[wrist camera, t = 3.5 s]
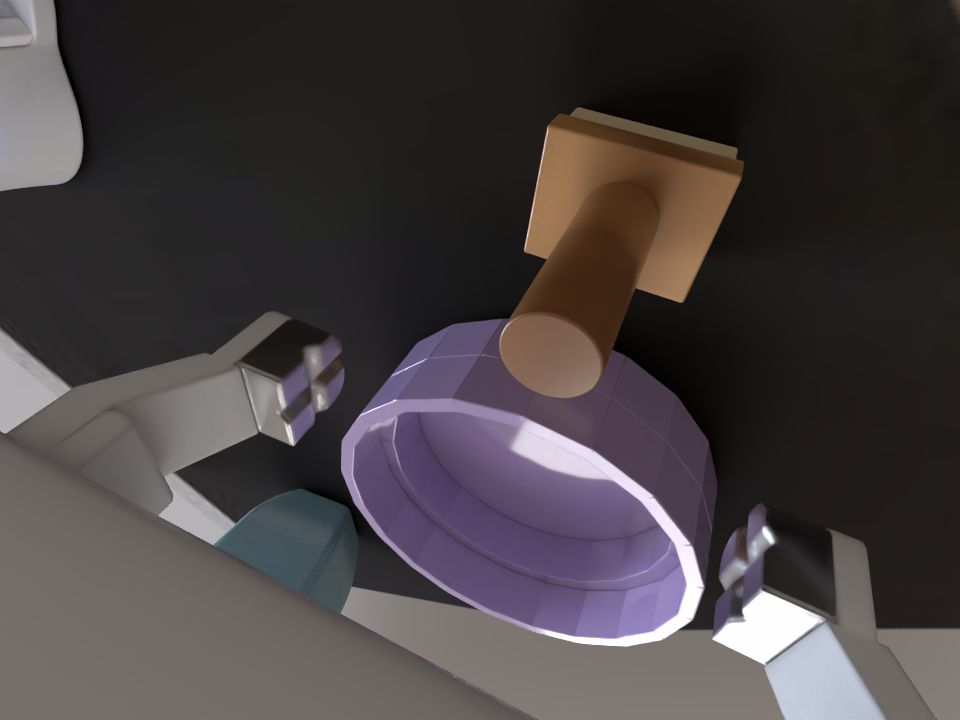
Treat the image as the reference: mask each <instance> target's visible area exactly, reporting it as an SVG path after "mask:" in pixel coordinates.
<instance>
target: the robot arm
mask: <svg viewBox="0 0 960 720" xmlns="http://www.w3.org/2000/svg"><path fill="white" fill-rule="evenodd" d="M82 155H83V133H82V126H81V120H80V115H79V111H78V107H77V104H76V100H75V97H74V94H73V91H72V88H71V85H70V82H69V79H68V77H67V74H66V71H65V68H64V65H63V62H62V59H61V56H60V52H59V48H58V43H57V24H56V12H55V4H54V0H0V191H4V190H10V189H16V188H24V187H32V186H43V185H56V184H62V183H65V182H67V181H69V180H70V179H71V178H72V177H73V176H74V175H75V174H76V173H77V171H78V169H79V167H80V164H81V160H82ZM341 352H342V349H341V342H340V339H339V338H338V337H336V336H334V335H332V334H329V333H327V332H325V331H322V330H320V329H318V328H315V327H313V326H311V325H308V324H306V323H304V322H301V321H299V320H296V319H293V318H291V317H289V316H286V315H284V314H281V313H279V312H277V311H271V312H267V313H265V314H264V315H262V316H261V317H260V318H259V319H257V320H256V321H255V322H253V323H252V324H251V325H250V326H248V327H247V328H246V329H244V330H243V331H242V332H241V333H239V334H238V335H237V336H235V337H234V338H233V339H232V340H230V341H229V342H228V343H226V344H225V345H224V346H223V347H221V348H220V349H219V350H217V351H216V352H215V353H214V354H212V355H210V354H207V353H203V354H199V355H195V356H191V357H187V358H184V359H180V360H176V361H172V362H168V363H165V364H161V365H157V366H153V367H149V368H146V369H142V370H138V371H134V372H130V373H127V374H123V375H119V376H115V377H111V378H108V379H104V380H100V381H96V382H92V383H89V384H85V385H81V386H77V387H74V388H73V389H71V390H70V391H68V392H67V393H65V394H64V395H62V396H61V397H59V398H58V399H56V400H55V401H53V402H52V403H51V404H49V405H48V406H46V407H45V408H43V409H42V410H40V411H39V412H37V413H36V414H34V415H33V416H31V417H30V418H28V419H27V420H25V421H24V422H22V423H21V424H20V425H18V426H17V427H15V428H14V429H12V430H11V431H9V432H8V433H6V434H4V433H2V432H1V431H0V720H537V719H536V718H534V717H532V716H530V715H528V714H526V713H524V712H522V711H521V710H519V709H517V708H515V707H513V706H511V705H509V704H508V703H506V702H504V701H502V700H500V699H498V698H496V697H495V696H493V695H491V694H489V693H487V692H485V691H483V690H481V689H480V688H478V687H476V686H474V685H472V684H470V683H468V682H467V681H465V680H463V679H461V678H459V677H457V676H455V675H454V674H452V673H450V672H448V671H446V670H444V669H442V668H440V667H439V666H437V665H435V664H433V663H431V662H429V661H428V660H426V659H424V658H422V657H420V656H418V655H416V654H414V653H413V652H411V651H409V650H407V649H405V648H403V647H401V646H400V645H398V644H396V643H394V642H392V641H390V640H388V639H387V638H385V637H383V636H381V635H379V634H377V633H375V632H373V631H371V630H370V629H368V628H366V627H364V626H362V625H360V624H359V623H357V622H355V621H353V620H351V619H349V618H347V617H345V616H344V615H342V614H340V613H338V612H336V611H334V610H332V609H331V608H329V607H327V606H325V605H323V604H321V603H319V602H318V601H316V600H314V599H312V598H310V597H308V596H306V595H305V594H303V593H301V592H299V591H297V590H295V589H293V588H291V587H290V586H288V585H286V584H284V583H282V582H280V581H278V580H277V579H275V578H273V577H271V576H269V575H267V574H265V573H263V572H262V571H260V570H258V569H256V568H254V567H252V566H250V565H249V564H247V563H245V562H243V561H241V560H239V559H237V558H236V557H234V556H232V555H230V554H228V553H226V552H224V551H222V550H221V549H219V548H217V547H215V546H213V545H211V544H209V543H207V542H206V541H204V540H202V539H200V538H198V537H196V536H194V535H193V534H191V533H189V532H187V531H185V530H183V529H181V528H180V527H178V526H176V525H174V524H172V523H170V522H168V521H166V520H165V519H163V518H161V517H159V516H158V515H159V514H160V513H161V512H162V511H163V510H164V509H165V508H166V507H167V506H168V505H169V504H170V503H171V502H172V500H173V493H172V491H171V489H170V487H169V486H168V484H167V482H166V480H165V478H164V476H166V475H168V474H171V473H173V472H175V471H177V470H179V469H181V468H184V467H186V466H188V465H190V464H192V463H195V462H197V461H199V460H201V459H203V458H205V457H208V456H210V455H212V454H214V453H216V452H219V451H221V450H223V449H225V448H227V447H230V446H232V445H234V444H236V443H238V442H240V441H243V440H245V439H247V438H249V437H251V436H254V435H256V434H258V431H259V432H261V433H264V434H266V435H269V436H271V437H273V438H276V439H278V440H280V441H283V442H285V443H287V444H290V445H292V446H294V445H295V444H296V443H297V442H298V441H299V440H300V438H301V437H302V436H303V435H304V434H305V433H306V432H307V431H308V430H309V429H310V428H311V427H312V425H313V424H314V419H315V413H317V412H320V411H323V410H325V409H328V408H329V407H330V406H331V404H332V403H333V402H334V401H335V400H336V399H337V397H338V395H339V393H340V391H341V389H342V387H343V381H344V367H343V366H342V364H341V363H340V361H339V360H338V358H337V356H338V355H339V354H340V353H341ZM719 579H720V581H721V583H722V585H723V587H724V589H725V593H724V594H723V595H722V596H721V597H720V598H719V599H718V600H717V601H716V608H715V618H714V628H713V640H716V641H717V642H720V643H721V644H724V645H726V646H728V647H730V648H732V649H734V650H736V651H738V652H740V653H742V654H744V655H746V656H748V657H750V658H752V659H754V660H756V661H758V662H760V663H762V664H764V665H766V666H765V667H764V668H765V671H766V673H767V676H768V678H769V681H770V683H771V686H772V688H773V691H774V693H775V696H776V698H777V701H778V703H779V706H780V708H781V711H782V713H783V716H784V718H785V720H937V719H936V718H935V716H934V715H933V713H932V712H931V710H930V709H929V707H928V706H927V704H926V703H925V701H924V700H923V698H922V697H921V695H920V693H919V692H918V691H917V689H916V688H915V686H914V685H913V683H912V681H911V680H910V678H909V677H908V676H907V674H906V673H905V671H904V670H903V668H902V666H901V665H900V663H899V662H898V660H897V659H896V657H895V656H894V654H893V653H892V651H891V650H890V648H889V647H887V646H884V645H882V644H880V643H878V639H877V631H876V622H875V614H874V606H873V598H872V590H871V581H870V573H869V565H868V557H867V549H866V547H865V545H864V544H863V542H862V541H859V540H857V539H854V538H852V537H849V536H847V535H844V534H841V533H839V532H836V531H834V530H831V529H829V528H825V527H824V526H822V525H819V524H816V523H814V522H811V521H809V520H806V519H803V518H801V517H798V516H795V515H793V514H790V513H788V512H785V511H782V510H780V509H777V508H774V507H772V506H769V505H767V504H764V503H760V504H758V505H756V506H755V507H754V509H753V510H752V511H751V512H750V513H749V520H748V526H744V527H739V528H737V529H736V530H735V532H734V533H733V534H732V536H731V537H730V539H729V541H728V543H727V545H726V548H725V550H724V552H723V556H722V560H721V565H720V572H719Z"/></svg>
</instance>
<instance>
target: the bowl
mask: <svg viewBox="0 0 960 720" xmlns="http://www.w3.org/2000/svg"><path fill="white" fill-rule="evenodd" d="M508 320H509V319H495V320H486V321H477V322H467V323H458V324H452V325H451V326H449V327H447V328H445V329H443V330H441V331H439V332H437V333H435V334H433V335H431V336H429V337H427V338H425V339H424V340H422V341H420V342H418V343H417V344H416V345H415V346H414V348H413V349H412V350H411V351H410V353H409V354H408V355H407V356H406V358H405V359H404V360H403V361H402V363H401V364H400V365H399V366H398V368H397V369H396V370H395V371H394V373H393V374H392V375H391V376H390V378H389V379H388V380H387V381H386V383H385V384H384V385H383V386H382V388H381V389H380V390H379V391H378V393H377V394H376V395H375V396H374V398H373V399H372V400H371V401H370V403H369V404H368V405H367V406H366V407H365V409H364V410H363V411H362V412H361V414H360V415H359V416H358V418H357V419H356V421H355V422H354V424H353V425H352V426H351V428H350V429H349V431H348V432H347V434H346V435H345V436H344V438H343V440H342V455H341V471H342V474H343V476H344V479H345V481H346V484H347V486H348V489H349V491H350V494H351V496H352V499H353V501H354V503H355V505H356V506H357V508H358V509H359V510H360V512H361V513H362V514H363V516H364V517H365V518H366V520H367V521H368V522H369V524H370V525H371V527H372V528H373V529H374V531H375V532H376V533H377V534H378V536H379V537H380V538H381V539H383V540H384V541H385V542H386V543H387V544H388V545H389V546H390V547H391V548H392V549H393V550H394V551H395V552H396V553H397V554H398V555H399V556H400V557H401V558H403V559H404V560H405V561H406V562H407V563H408V564H410V566H411V567H413V568H414V569H415V570H417V571H418V572H420V573H421V574H423V575H424V576H425V577H427V578H428V579H430V580H431V581H432V582H434V583H435V584H437V585H438V586H439V587H441V588H442V589H444V590H445V591H447V592H448V593H450V594H452V595H454V596H455V597H457V598H459V599H461V600H463V601H465V602H466V603H468V604H470V605H472V606H474V607H476V608H478V609H479V610H481V611H483V612H485V613H487V614H490V615H492V616H494V617H497V618H499V619H502V620H505V621H507V622H509V623H512V624H515V625H517V626H520V627H522V628H525V629H527V630H530V631H532V632H535V633H540V634H544V635H548V636H552V637H556V638H560V639H564V640H568V641H573V642H577V643H582V644H596V645H611V646H625V647H626V646H632V645H637V644H643V643H648V642H654V641H659V640H664V639H665V638H667V637H668V636H670V635H671V634H673V633H674V632H676V631H677V630H679V629H680V628H682V627H683V626H685V625H686V624H688V623H689V622H691V621H692V620H693V619H694V617H695V614H696V612H697V609H698V606H699V603H700V601H701V598H702V595H703V592H704V589H705V584H706V576H707V568H708V559H709V551H710V543H711V535H712V527H713V519H714V511H715V502H716V494H717V486H718V482H717V478H716V473H715V469H714V464H713V460H712V455H711V450H710V446H709V442H708V440H707V438H706V437H705V435H704V434H703V432H702V431H701V430H700V428H699V427H698V425H697V424H696V422H695V421H694V419H693V418H692V417H691V415H690V414H689V412H688V411H687V409H686V408H685V407H684V405H683V404H682V402H681V401H680V399H679V398H678V397H677V396H676V395H675V394H674V393H673V392H672V391H670V390H669V389H668V388H667V387H665V386H664V385H663V384H662V383H660V382H659V381H658V380H656V379H655V378H654V377H653V376H651V375H650V374H649V373H648V372H646V371H645V370H644V369H643V368H641V367H640V366H639V365H637V364H636V363H635V362H634V361H632V360H631V359H630V358H629V357H626V356H625V355H623V354H621V353H619V352H616V351H614V350H612V351H611V354H610V356H609V359H608V362H607V364H606V367H605V370H604V372H603V375H602V377H601V379H600V381H599V382H598V384H597V385H596V386H595V387H594V388H593V389H591V390H590V391H588V392H587V393H585V394H583V395H580V396H577V397H571V398H556V397H550V396H546V395H543V394H540V393H537V392H535V391H533V390H531V389H529V388H527V387H526V386H524V385H523V384H522V383H520V382H519V381H518V380H517V379H516V378H515V377H514V376H513V375H512V374H511V373H510V372H509V370H508V369H507V367H506V366H505V364H504V362H503V360H502V357H501V354H500V346H499V341H500V335H501V332H502V330H503V328H504V326H505V325H506V323H507V322H508Z"/></svg>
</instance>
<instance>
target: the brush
mask: <svg viewBox="0 0 960 720" xmlns="http://www.w3.org/2000/svg"><path fill="white" fill-rule="evenodd" d="M737 151H738V149H737V148H735V147H731V146H727V145H723V144H719V143H716V142H712V141H708V140H704V139H700V138H696V137H692V136H688V135H684V134H681V133H677V132H673V131H669V130H665V129H661V128H657V127H653V126H649V125H646V124H642V123H638V122H634V121H630V120H626V119H622V118H618V117H614V116H611V115H607V114H603V113H599V112H595V111H591V110H587V109H583V108H579V107H578V108H576V109H575V110H574V112H573V113H572V114H571V115H570V116H569V115H565V114H558V115H557V116H556V117H555V118H554V120H553V121H552V122H551V123H550V124H549V125H548V126H547V131H546V136H545V142H544V147H543V152H542V158H541V163H540V168H539V174H538V179H537V184H536V189H535V195H534V200H533V205H532V211H531V216H530V221H529V226H528V232H527V237H526V242H525V248H524V251H525V252H526V253H529V254H533V255H536V256H539V257H542V258H545V259H547V260H546V262H545V264H544V265H543V267H542V268H541V270H540V271H539V273H538V275H537V276H536V278H535V279H534V281H533V282H532V284H531V286H530V287H529V289H528V290H527V292H526V293H525V295H524V297H523V298H522V300H521V301H520V303H519V304H518V306H517V307H516V309H515V311H514V312H513V314H512V315H511V317H510V318H509V320H508V322H507V323H506V325H505V326H504V328H503V330H502V332H501V335H500V341H499V346H500V354H501V357H502V360H503V362H504V364H505V366H506V367H507V369H508V370H509V372H510V373H511V374H512V375H513V376H514V377H515V378H516V379H517V380H518V381H519V382H520V383H522V384H523V385H524V386H526V387H527V388H529V389H531V390H533V391H535V392H537V393H540V394H543V395H546V396H550V397H556V398H571V397H577V396H580V395H583V394H585V393H587V392H588V391H590V390H591V389H593V388H594V387H595V386H596V385H597V384H598V382H599V381H600V379H601V377H602V375H603V372H604V370H605V367H606V364H607V362H608V359H609V356H610V354H611V351H612V349H613V346H614V343H615V341H616V338H617V335H618V333H619V330H620V327H621V325H622V322H623V319H624V317H625V314H626V312H627V309H628V306H629V304H630V301H631V298H632V296H633V293H634V290H635V288H637V289H640V290H643V291H646V292H649V293H652V294H655V295H658V296H661V297H665V298H668V299H671V300H674V301H677V302H680V303H683V302H684V300H685V298H686V296H687V294H688V292H689V290H690V288H691V286H692V283H693V281H694V279H695V277H696V275H697V273H698V271H699V268H700V266H701V264H702V262H703V260H704V258H705V256H706V254H707V251H708V249H709V247H710V245H711V243H712V241H713V239H714V237H715V234H716V232H717V230H718V228H719V226H720V224H721V222H722V220H723V217H724V215H725V213H726V211H727V209H728V207H729V205H730V202H731V200H732V198H733V196H734V194H735V192H736V190H737V188H738V185H739V183H740V181H741V179H742V174H743V168H744V162H743V161H741V160H737V159H736V156H737Z"/></svg>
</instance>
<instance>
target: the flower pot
mask: <svg viewBox="0 0 960 720" xmlns="http://www.w3.org/2000/svg"><path fill="white" fill-rule="evenodd" d="M213 546H215V547H217V548H219V549H221V550H222V551H224V552H226V553H228V554H230V555H232V556H234V557H236V558H237V559H239V560H241V561H243V562H245V563H247V564H249V565H250V566H252V567H254V568H256V569H258V570H260V571H262V572H263V573H265V574H267V575H269V576H271V577H273V578H275V579H277V580H278V581H280V582H282V583H284V584H286V585H288V586H290V587H291V588H293V589H295V590H297V591H299V592H301V593H303V594H305V595H306V596H308V597H310V598H312V599H314V600H316V601H318V602H319V603H321V604H323V605H325V606H327V607H329V608H331V609H332V610H334V611H336V612H338V613H341V611H342V609H343V606H344V604H345V602H346V600H347V597H348V595H349V592H350V589H351V586H352V583H353V579H354V575H355V570H356V564H357V555H358V535H357V532H356V529H355V526H354V522H353V519H352V515H351V512H350V509H349V508H348V507H346V506H344V505H342V504H340V503H337V502H334V501H332V500H329V499H326V498H324V497H321V496H319V495H316V494H314V493H311V492H309V491H306V490H303V489H296V490H293V491H289V492H286V493H283V494H281V495H278V496H276V497H273V498H271V499H269V500H267V501H265V502H264V503H262V504H260V505H259V506H257V507H256V508H254V509H253V510H251V511H250V512H249V513H248V514H247V515H245V516H244V517H243V518H242V519H241V520H240V521H239V522H237V523H236V524H235V525H234V526H233V527H232V528H231V529H230V530H229V531H228V532H227V533H226V534H225V535H224V536H222V537H221V538H220V539H219V540H218V541H217V542H216V543H215V544H214V545H213Z"/></svg>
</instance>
